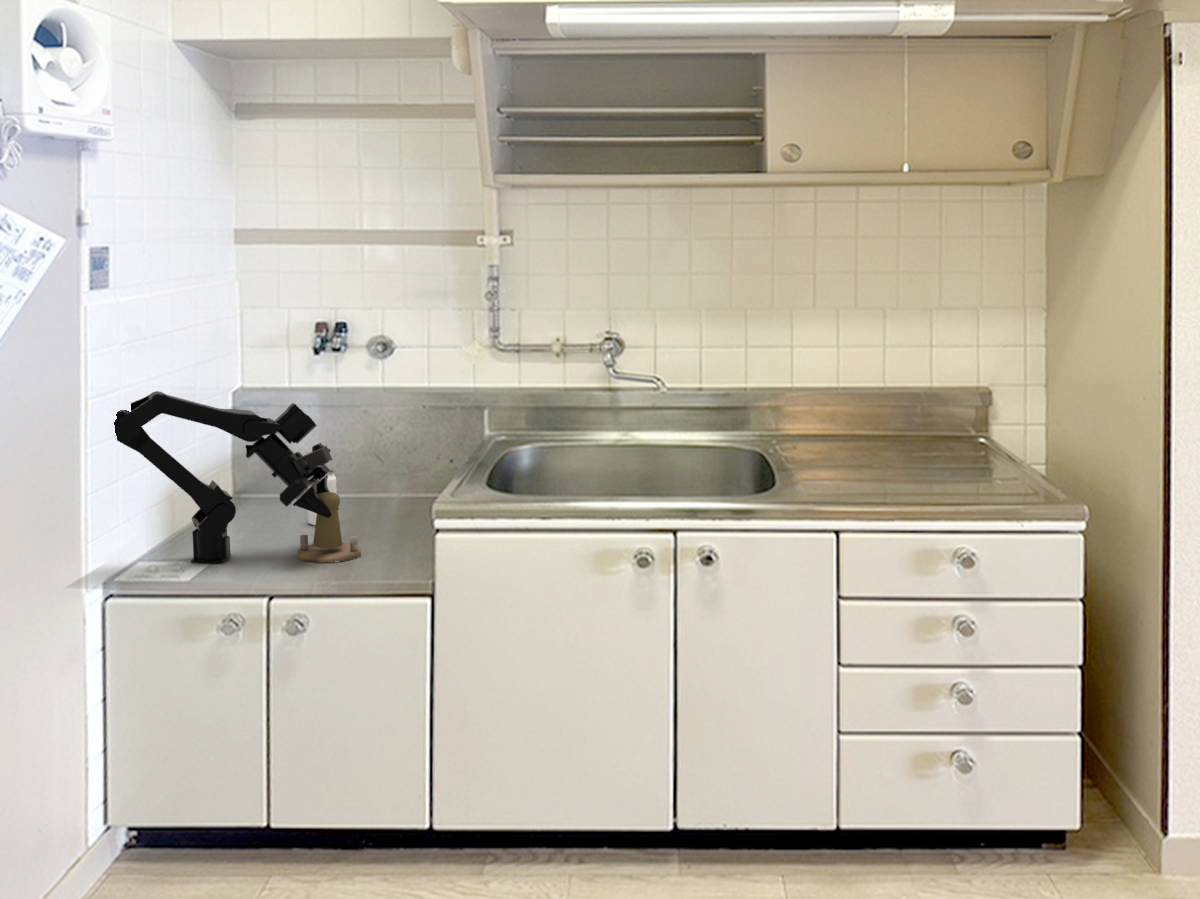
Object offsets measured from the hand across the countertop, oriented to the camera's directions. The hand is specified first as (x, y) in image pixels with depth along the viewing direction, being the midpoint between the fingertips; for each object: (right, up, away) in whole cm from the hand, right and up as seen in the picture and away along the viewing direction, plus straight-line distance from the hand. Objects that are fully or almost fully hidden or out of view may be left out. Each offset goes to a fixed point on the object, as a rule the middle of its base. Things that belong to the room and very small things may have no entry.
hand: (333, 513), depth 297 cm
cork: (-1, -7, +1) cm, 7 cm away
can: (-8, -4, +29) cm, 31 cm away
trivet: (-1, -9, +2) cm, 9 cm away
